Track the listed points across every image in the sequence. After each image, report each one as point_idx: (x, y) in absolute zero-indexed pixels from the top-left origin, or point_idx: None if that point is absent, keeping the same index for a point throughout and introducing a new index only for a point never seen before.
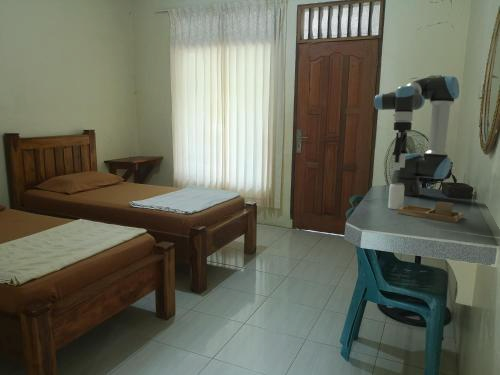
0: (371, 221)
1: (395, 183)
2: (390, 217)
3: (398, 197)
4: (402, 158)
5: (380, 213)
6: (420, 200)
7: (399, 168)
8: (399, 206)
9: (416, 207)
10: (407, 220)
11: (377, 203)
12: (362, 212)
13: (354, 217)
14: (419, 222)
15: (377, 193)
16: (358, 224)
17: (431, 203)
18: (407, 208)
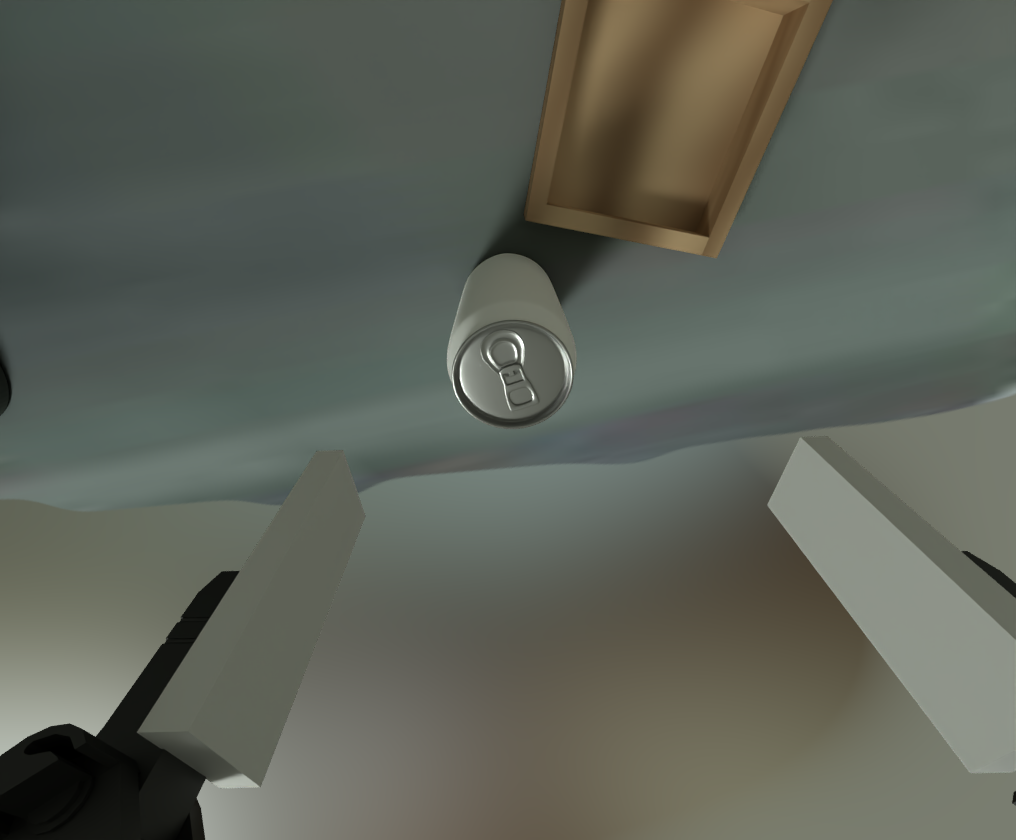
0: (922, 336)
1: (478, 397)
2: (796, 270)
3: (560, 305)
4: (288, 619)
5: (700, 343)
6: (23, 188)
7: (843, 454)
8: (546, 274)
9: (560, 133)
10: (868, 146)
11: (422, 417)
12: (708, 420)
13: (838, 420)
14: (927, 37)
15: (117, 482)
16: (996, 371)
17: (46, 57)
18: (573, 208)
